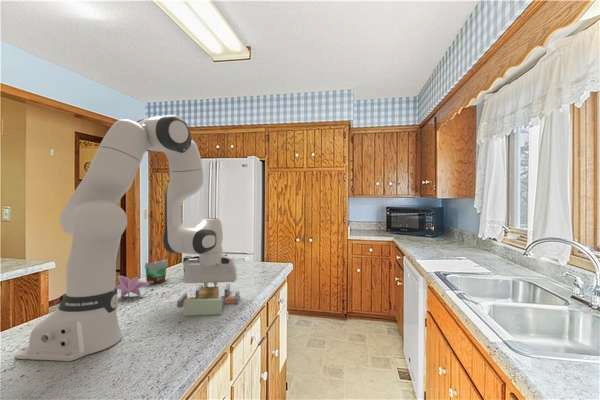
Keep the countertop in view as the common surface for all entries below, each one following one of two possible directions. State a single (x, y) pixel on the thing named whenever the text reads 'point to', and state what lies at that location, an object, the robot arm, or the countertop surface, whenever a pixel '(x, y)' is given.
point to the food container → (156, 271)
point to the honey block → (209, 293)
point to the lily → (130, 285)
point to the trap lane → (206, 303)
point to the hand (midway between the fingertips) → (210, 293)
